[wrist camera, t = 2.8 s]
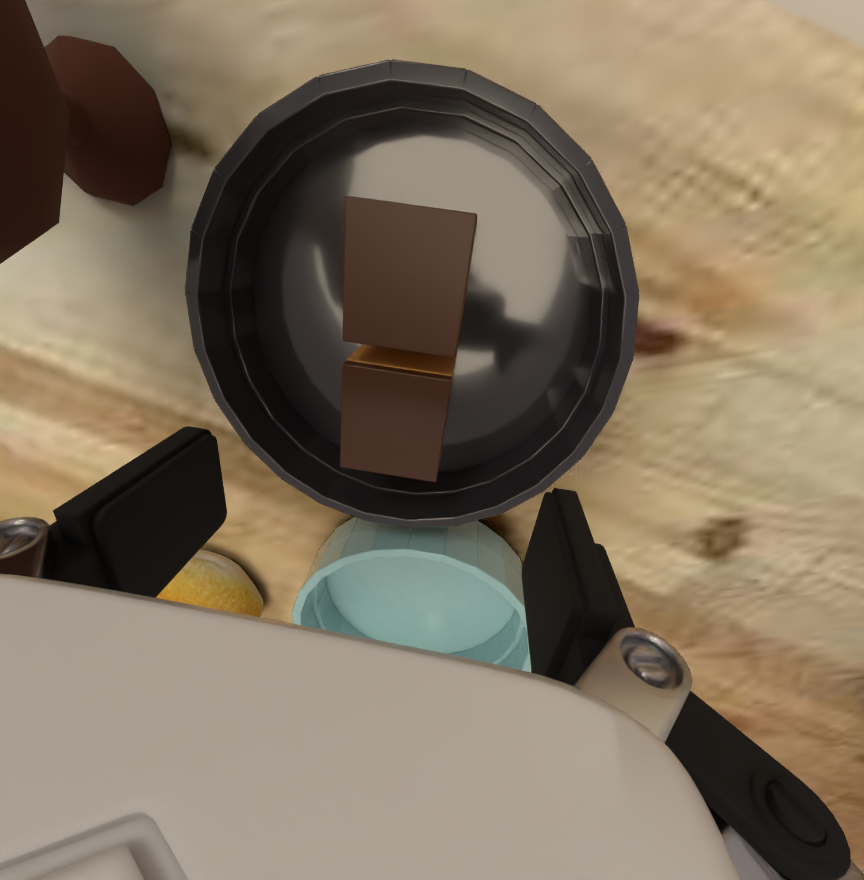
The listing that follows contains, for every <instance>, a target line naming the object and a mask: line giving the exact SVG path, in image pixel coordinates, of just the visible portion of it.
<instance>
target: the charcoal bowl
mask: <svg viewBox="0 0 864 880" xmlns="http://www.w3.org/2000/svg"><path fill="white" fill-rule="evenodd" d="M346 196H353V197H360V198H368V199H375V200H382V201H389V202H397V203H404V204H411V205H418V206H426V207H433V208H440V209H447V210H455V211H462V212H469V213H476V214H477V226H476V232H475V238H474V245H473V251H472V258H471V264H470V271H469V277H468V284H467V290H466V297H465V303H464V310H463V316H462V323H461V329H460V335H459V340H458V346H457V348H458V349H457V355H456V362H455V368H454V374H453V381H452V387H451V394H450V400H449V407H448V413H447V420H446V426H445V433H444V439H443V445H442V451H441V457H440V463H439V469H438V475H437V481H436V482H431V481H425V480H419V479H412V478H406V477H400V476H394V475H387V474H381V473H375V472H369V471H362V470H356V469H350V468H344V467H340V439H341V386H342V364H343V363H344V362H345V361H346V360H347V359H348V358H349V357H350V356H351V355H352V354H353V353H354V352H355V351H356V350H357V349H358V348H359V347H360V346H361V345H362V344H359V343H352V342H345V341H343V340H342V333H343V281H344V228H345V197H346ZM191 229H192V230H191V231H190V241H189V252H188V262H187V273H186V283H185V296H186V302H187V308H188V315H189V321H190V328H191V334H192V341H193V347H194V348H195V349H194V351H195V353H196V355H197V358H198V360H199V363H200V365H201V368H202V370H203V373H204V375H205V378H206V380H207V383H208V385H209V388H210V390H211V393H212V395H213V398H214V399H215V402H216V403H217V404H218V406H219V407H220V409H221V410H222V412H223V413H224V415H225V416H226V418H227V419H228V421H229V422H230V424H231V425H232V426H233V428H234V429H235V431H236V432H237V434H238V435H239V437H240V438H241V440H242V441H243V442H244V443H245V445H246V446H247V447H248V448H249V449H250V450H251V451H253V452H254V453H255V454H256V455H257V456H258V457H259V458H260V459H261V460H262V461H263V462H264V463H265V464H266V465H267V466H268V467H269V468H270V469H271V470H272V471H273V472H274V473H275V474H276V475H277V476H278V477H281V479H282V480H284V481H285V482H287V483H288V484H290V485H292V486H293V487H295V488H296V489H298V490H300V491H301V492H303V493H304V494H306V495H307V496H309V497H311V498H312V499H314V500H315V501H317V502H318V503H321V504H323V505H325V506H328V507H330V508H333V509H336V510H338V511H341V512H343V513H346V514H349V515H351V516H354V517H357V518H359V519H362V520H365V521H370V522H376V523H383V524H389V525H395V526H401V527H407V528H420V527H442V526H458V525H461V524H465V523H469V522H473V521H476V520H480V519H484V518H488V517H491V516H495V515H499V514H501V513H504V512H506V511H507V510H509V509H511V508H513V507H515V506H517V505H519V504H521V503H523V502H524V501H526V500H528V499H530V498H532V497H534V496H536V495H538V494H540V493H542V492H543V491H545V490H546V489H547V488H548V487H549V486H551V485H552V484H553V483H554V482H555V481H556V480H557V479H559V478H560V477H561V476H562V475H563V474H564V473H565V472H567V471H568V470H569V469H570V468H571V467H572V466H573V465H574V464H576V463H577V462H578V461H579V460H580V459H581V458H582V457H583V456H584V455H585V453H586V452H587V450H588V449H589V447H590V446H591V445H592V443H593V442H594V440H595V439H596V437H597V436H598V434H599V433H600V432H601V430H602V429H603V427H604V426H605V424H606V423H607V421H608V420H609V419H610V417H611V416H612V414H613V412H614V410H615V407H616V405H617V402H618V399H619V396H620V394H621V391H622V388H623V385H624V383H625V380H626V377H627V374H628V372H629V369H630V366H631V363H632V361H633V356H634V350H635V338H636V327H637V315H638V303H639V288H638V283H637V278H636V273H635V268H634V262H633V257H632V252H631V247H630V242H629V236H628V231H627V227H626V225H625V221H624V219H623V218H622V216H621V214H620V212H619V210H618V208H617V206H616V204H615V202H614V200H613V198H612V196H611V194H610V193H609V191H608V189H607V187H606V185H605V183H604V181H603V179H602V177H601V175H600V173H599V171H598V169H597V168H596V166H595V164H594V162H593V160H591V157H590V156H589V155H588V154H587V153H586V152H585V151H584V150H583V149H582V148H581V147H580V146H579V145H578V144H577V143H576V142H575V141H574V140H573V139H572V138H571V137H570V136H569V135H568V134H567V133H566V132H565V131H564V130H563V129H562V128H561V127H560V126H559V125H558V124H557V123H556V122H555V121H554V120H553V119H552V118H551V117H550V116H549V115H548V114H547V113H546V112H545V111H544V110H543V109H542V108H541V107H540V106H539V105H536V103H534V102H532V101H530V100H528V99H526V98H524V97H522V96H520V95H518V94H516V93H514V92H512V91H510V90H508V89H506V88H504V87H502V86H500V85H498V84H496V83H494V82H493V81H491V80H489V79H487V78H485V77H483V76H481V75H479V74H477V73H475V72H473V71H471V70H466V69H464V68H456V67H448V66H441V65H433V64H425V63H417V62H409V61H401V60H391V61H390V60H385V61H380V62H376V63H372V64H367V65H363V66H358V67H354V68H350V69H345V70H341V71H336V72H332V73H328V74H323V75H319V76H318V77H315V78H313V79H312V80H310V81H309V82H307V83H305V84H304V85H302V86H301V87H299V88H298V89H296V90H295V91H293V92H291V93H290V94H288V95H287V96H285V97H284V98H282V99H280V100H279V101H277V102H276V103H274V104H273V105H271V106H270V107H268V108H266V109H265V110H263V111H262V112H260V113H259V114H258V116H256V117H255V118H254V119H253V120H252V122H251V123H250V124H249V125H248V127H247V128H246V129H245V130H244V132H243V133H242V134H241V135H240V137H239V138H238V139H237V140H236V142H235V143H234V144H233V145H232V147H231V148H230V149H229V150H228V152H227V153H226V154H225V155H224V157H223V158H222V159H221V161H220V162H219V163H218V164H217V166H216V167H215V169H214V170H213V173H212V175H211V178H210V181H209V183H208V186H207V188H206V191H205V193H204V196H203V199H202V201H201V204H200V206H199V209H198V212H197V214H196V217H195V219H194V222H193V224H192V227H191Z"/></svg>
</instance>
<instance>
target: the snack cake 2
mask: <svg viewBox="0 0 864 880" xmlns="http://www.w3.org/2000/svg"><path fill="white" fill-rule="evenodd" d="M457 349H458V348H457ZM456 355H457V352H456ZM455 362H456V357H455V358H452V357H446V356H439V355H432V354H425V353H419V352H412V351H405V350H399V349H392V348H385V347H379V346H372V345H365V344H362V345H361V346H360V347H359V348H358V349H357V350H356V351H355V352H354V353H353V354H352V355H351V356H350V357H349V358H348V359H347V360H346V361H345V362H344V363H343V364H342V386H341V439H340V467H344V468H350V469H356V470H362V471H369V472H375V473H381V474H387V475H394V476H400V477H406V478H412V479H419V480H425V481H431V482H436V481H437V475H438V469H439V463H440V457H441V451H442V445H443V439H444V433H445V426H446V420H447V413H448V407H449V400H450V394H451V387H452V381H453V374H454V368H455Z"/></svg>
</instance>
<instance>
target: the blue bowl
mask: <svg viewBox="0 0 864 880" xmlns="http://www.w3.org/2000/svg"><path fill="white" fill-rule="evenodd" d="M522 566H523V565H522V562H521V560H520V558H519V557H518V555H517V554H516V553H515V552H514V551H513V549H512V548H511V547H510V546H509V545H508V544H507V542H506V541H505V540H504V539H503V538H502V537H500V536H499V535H498V534H496V533H495V532H494V531H493V530H491V529H490V528H489V527H487V526H486V525H484V524H483V523H481V522H479V521H478V520H476V521H473V522H469V523H465V524H461V525H458V526H442V527H420V528H407V527H401V526H395V525H389V524H383V523H376V522H370V521H365V520H362V519H359V518H357V517H353V518H352V519H350V520H348V521H347V522H345V523H344V524H342V525H340V526H339V527H337V528H336V529H335V530H334V532H333V533H332V534H331V535H330V536H329V537H328V539H327V540H326V541H325V542H324V543H323V545H322V546H321V548H320V550H319V552H318V554H317V556H316V558H315V560H314V562H313V564H312V567H311V568H310V570H309V572H308V574H307V576H306V578H305V580H304V582H303V584H302V587H301V589H300V591H299V593H298V596H297V599H296V602H295V604H294V607H293V610H292V619H293V624H298V625H303V626H308V627H313V628H319V629H324V630H329V631H334V632H339V633H345V634H350V635H355V636H360V637H365V638H370V639H375V640H380V641H385V642H390V643H396V644H401V645H406V646H411V647H416V648H421V649H426V650H431V651H436V652H441V653H446V654H451V655H455V656H460V657H465V658H469V659H474V660H479V661H484V662H488V663H493V664H498V665H502V666H507V667H511V668H515V669H519V670H522V671H526V672H530V671H531V662H530V652H529V643H528V633H527V624H526V615H525V605H524V596H523V586H522Z"/></svg>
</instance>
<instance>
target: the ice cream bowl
mask: <svg viewBox="0 0 864 880" xmlns="http://www.w3.org/2000/svg"><path fill="white" fill-rule="evenodd" d="M170 146H171V142H170V139H169V136H168V133H167V130H166V127H165V124H164V120H163V117H162V114H161V111H160V108H159V105H158V102H157V99H156V95H155V92H154V90H153V89H152V87H151V86H150V85H149V84H148V83H147V82H146V81H145V80H144V79H143V78H142V77H141V75H140V74H139V73H138V72H137V71H136V70H135V69H134V68H133V67H132V66H131V64H130V63H129V62H128V61H127V60H126V59H125V58H124V57H123V56H122V55H121V54H120V52H119V51H118V50H117V49H116V48H115V47H112V46H108V45H104V44H100V43H96V42H92V41H88V40H84V39H80V38H76V37H72V36H57V37H56V38H55V39H54V40H53V41H52V42H51V43H49V44H48V45H47V46H46V47H45V48H44V46H43V44H42V41H41V39H40V36H39V34H38V31H37V29H36V26H35V24H34V21H33V19H32V16H31V14H30V11H29V9H28V6H27V4H26V1H25V0H0V264H1V263H2V262H3V261H5V260H6V259H8V258H9V257H11V256H12V255H14V254H15V253H16V252H18V251H19V250H21V249H22V248H24V247H25V246H27V245H28V244H30V243H31V242H32V241H34V240H35V239H37V238H38V237H40V236H41V235H42V234H44V233H45V232H46V231H48V230H49V229H51V228H52V227H53V226H55V225H56V224H58V223H59V216H60V206H61V196H62V185H63V175H64V173H65V174H67V175H68V176H69V177H70V178H71V179H72V180H73V181H74V182H75V183H76V184H77V185H78V186H79V187H80V188H81V189H82V190H83V191H84V192H86V193H88V194H90V195H92V196H95V197H98V198H102V199H107V200H111V201H115V202H119V203H123V204H127V205H131V206H134V205H136V204H137V203H139V202H140V201H142V200H143V199H145V198H146V197H148V196H149V195H151V194H152V193H154V192H155V191H157V190H158V189H160V188H162V186H163V181H164V176H165V171H166V166H167V161H168V156H169V151H170Z"/></svg>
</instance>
